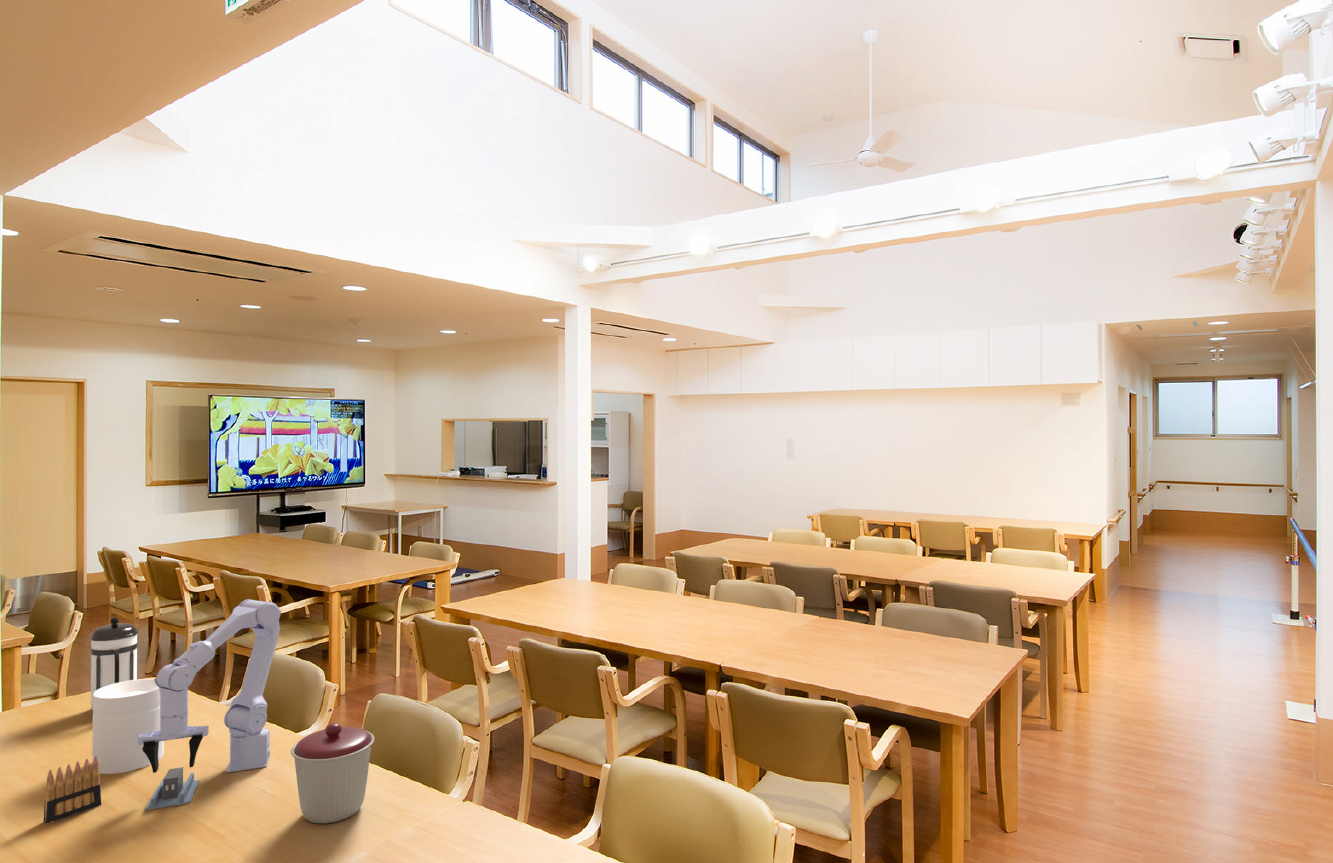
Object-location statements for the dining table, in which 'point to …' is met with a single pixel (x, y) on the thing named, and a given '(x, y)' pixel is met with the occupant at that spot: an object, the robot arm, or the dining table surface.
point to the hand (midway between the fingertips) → (173, 768)
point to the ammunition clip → (72, 792)
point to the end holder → (183, 798)
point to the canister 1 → (124, 724)
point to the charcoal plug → (173, 783)
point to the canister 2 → (332, 772)
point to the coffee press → (113, 654)
